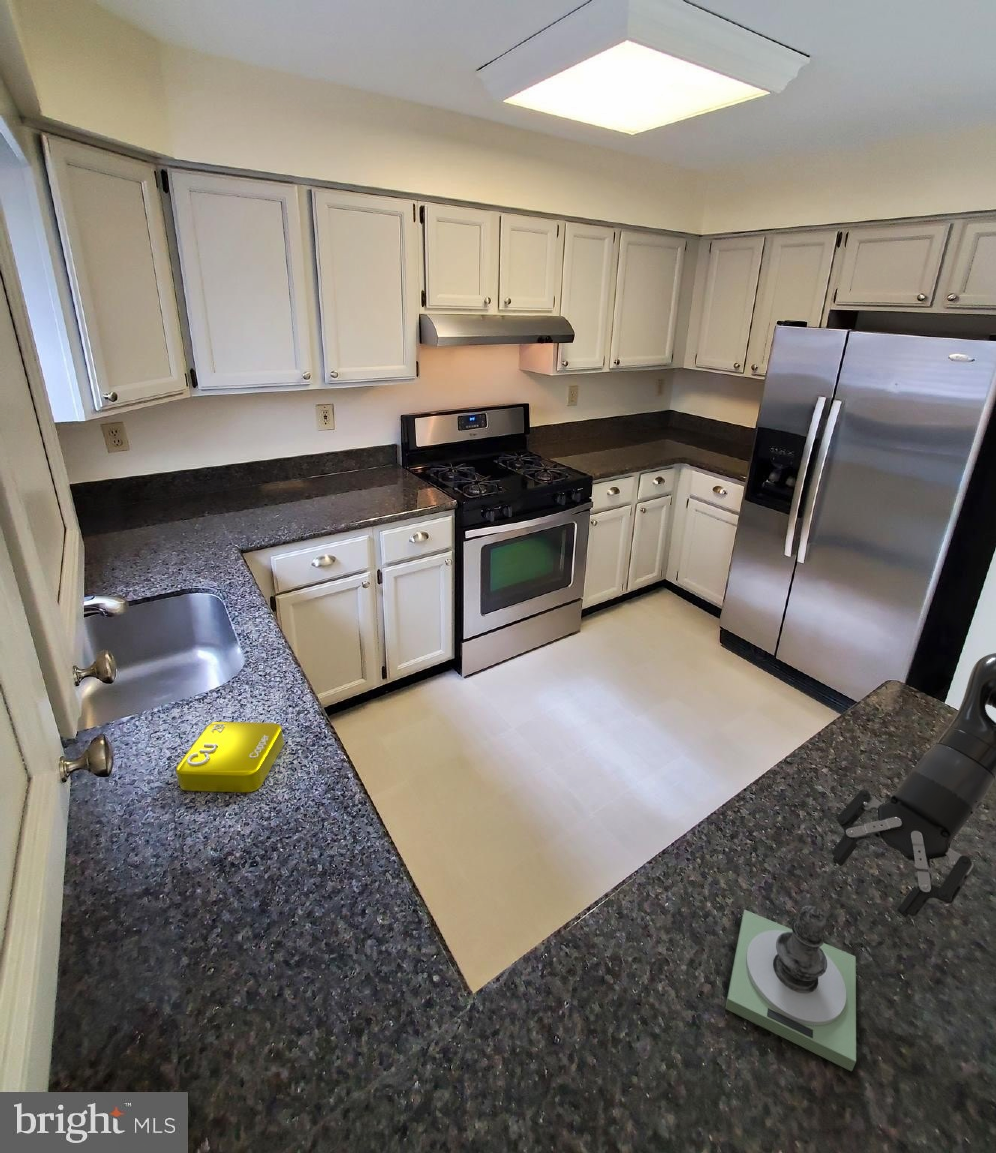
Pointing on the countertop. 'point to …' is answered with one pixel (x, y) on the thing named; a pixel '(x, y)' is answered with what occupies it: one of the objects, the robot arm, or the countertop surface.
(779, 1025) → the scale
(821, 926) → the chess piece
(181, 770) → the element tile
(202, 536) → the countertop surface
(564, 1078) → the countertop surface
